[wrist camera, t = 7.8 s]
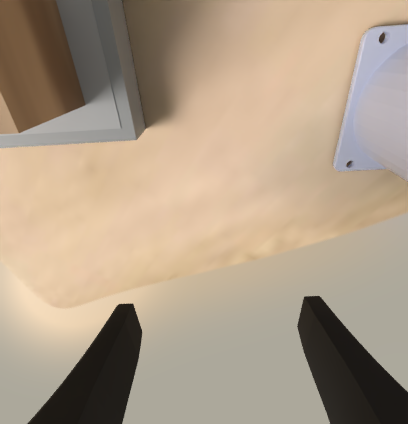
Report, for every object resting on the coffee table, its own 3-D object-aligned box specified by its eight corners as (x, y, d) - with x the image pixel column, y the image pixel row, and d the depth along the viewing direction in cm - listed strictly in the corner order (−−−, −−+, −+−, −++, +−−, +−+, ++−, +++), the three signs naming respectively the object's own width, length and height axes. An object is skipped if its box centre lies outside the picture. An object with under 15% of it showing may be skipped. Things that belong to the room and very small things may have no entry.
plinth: (108, -72, 11) (85, -101, 9) (145, 128, 16) (136, 140, 14) (-77, -53, 12) (-140, -77, 10) (13, 137, 17) (-16, 149, 14)
